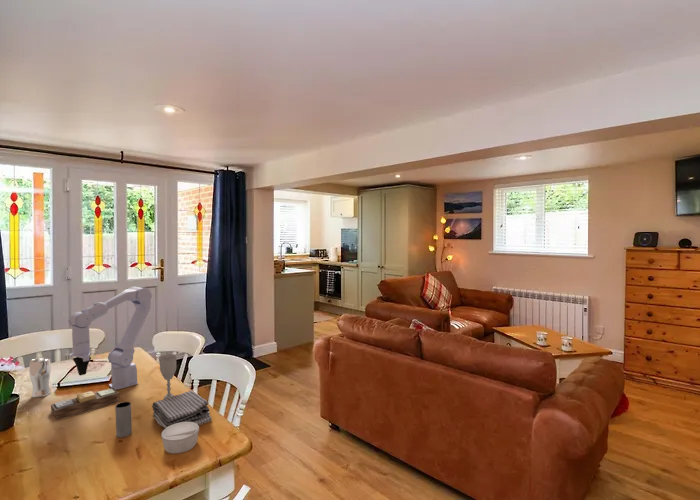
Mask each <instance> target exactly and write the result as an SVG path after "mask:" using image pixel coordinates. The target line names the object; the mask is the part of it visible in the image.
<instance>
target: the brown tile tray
mask: <svg viewBox="0 0 700 500" xmlns="http://www.w3.org/2000/svg"><path fill="white" fill-rule="evenodd" d="M112 389H113V390H114V391H115V393H114V394H111V395H107V396H103V397H100V396H98V393H97V392H98V391H96V392H93V393H94V394H95V399H92V400H89V401H85V402H82V403H79V402H78V401H77V397H74V398H70V399H71V400H72V402H73V403H74V405H71V406H67V407H63V408H60V409H56V408H55V403H51V404H50V411H51V412H52V414H53V415H54V416H55V417H56V419H57V420H58V421H60V420H63V419H65V418H69V417H72V416H76V415H79V414H83V413H86V412H90V411H93V410H96V409H101V408H103V407H104V408H105V407H107V406H110V405H113V404H114V405H115V404H116V403H117V404H118V403H120V399H119V398H120V392H119V391H117V390H115V389H114V388H112Z"/></svg>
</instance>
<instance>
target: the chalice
mask: <svg viewBox="0 0 700 500" xmlns="http://www.w3.org/2000/svg"><path fill="white" fill-rule="evenodd" d="M157 358H158V360H159V370H160V373H161V376H162V377H163V379H164V381H165V380H166V381H167V382H166V387H167V388H166V390H167V393H166V394H165V395H164V396H163V399H166V398H170V397H172V396H175V394H173V393H171V390H172V388H171V385H172V384H171V380H172V379H173V378H174V375H175V374H176V370H177V359H178V355H177V354H173V353H172V354H171V353H170V354H163V355H159V357H157Z"/></svg>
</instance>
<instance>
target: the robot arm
mask: <svg viewBox="0 0 700 500" xmlns="http://www.w3.org/2000/svg"><path fill="white" fill-rule="evenodd" d="M152 297H153V294H152V292H151V290H150V289H149V288H148V287H138V286H134V285H133V286H131V287H129V288H126V289H124V290H123V291H122V292H120V293H119V294H117V295H115V296H113V297H111V298H109V299H108V300H106V301H105V302H101V301H99V302H98V301H97V302H93V303H92V305H90V306H88V307H86V308H82V309H81V311H76V312H73V313H72V314H71V315H70V317H69V319H68V323H69V324H70V325H71V336H72V337H71V339H72V353H70V354H69V355H68V356H69V357H73V358H72V361H73V362H74V364H75V366H76V369H77V374H78V375H79V377H80V376H84V375H86V374H87V371H88V366H89V363H90V361H91V360H92V357H91V356H90V355H91V344H90V343H91V342H90V325H92V322H94V321H96V320H97V319H99V318H101V317H103V316H105V315H106V314H107V313H108V312H109V310H110V309H112V308H114V307H116V306H118V305H121V304H122V303H125V302H127V301H129V302H132V303H133V305H134V307H135V311H134V313H133V315H132V317H131V318H130V321H129V323H128V325H127V328H126V329H125V330H124V333H123V336H122V338H121V340H120V341H119V343H117V344H116V345H115V346H114V347H113V349H112V350H111V351H110V352H109V353H108V356H107V360H108V362H109V363H111V364H110V367H111V368H110V369H111V370H110V371H111V383H109V384H108V386H109V387H110V389H111V388H114V389H115V390H116V391H117V390H121V389H124V388H128V387H131V386H135V385H138V384H139V383H138V369H137V365H136V363H135V362H133V360H134V355H135V354H134V353H135V351H136V350H135V348H134V345H135V343H136V341H137V338H138V336H139V334H140V332H141V330H142V327H143V325H144V323H145V321H146V319H147V316H148V315H149V312H150V310H151V303H152V302H151V300H152Z"/></svg>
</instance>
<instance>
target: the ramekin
mask: <svg viewBox="0 0 700 500" xmlns="http://www.w3.org/2000/svg"><path fill="white" fill-rule="evenodd" d="M199 432H200V425H198V424H196V423H194V422H180V423H176V424H173V425H170V426H168V427H167V428H166V429H165V428H164V429H163V430H162V432H161V440H162V445H163V448H164V451H165V452H167V453H169V454H173V455H174V454H177V453H178V454H182V452H183V453H186V452H188V451H190V450H191V449H193V448H194V447H195V445H197V442H198V439H199V438H198V437H199ZM178 454H177V455H178Z"/></svg>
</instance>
